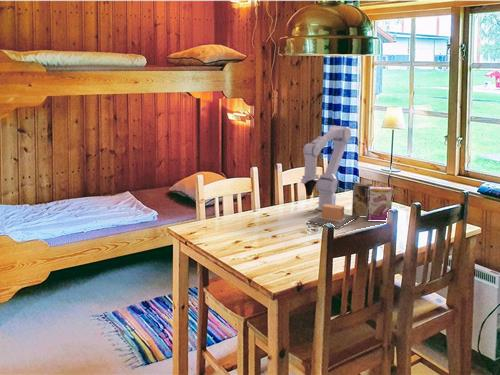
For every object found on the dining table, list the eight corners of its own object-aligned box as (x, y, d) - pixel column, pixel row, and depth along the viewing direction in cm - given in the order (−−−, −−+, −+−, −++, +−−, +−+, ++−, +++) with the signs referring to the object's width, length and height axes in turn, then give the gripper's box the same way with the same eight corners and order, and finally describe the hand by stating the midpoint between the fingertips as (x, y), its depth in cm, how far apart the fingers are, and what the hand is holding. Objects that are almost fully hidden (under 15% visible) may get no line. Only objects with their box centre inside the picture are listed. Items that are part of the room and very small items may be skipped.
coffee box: (371, 214, 284) (373, 183, 280) (370, 218, 278) (371, 186, 274) (353, 213, 287) (354, 182, 283) (351, 216, 281) (352, 185, 277)
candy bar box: (367, 221, 272) (369, 188, 268) (366, 218, 277) (368, 186, 273) (390, 222, 271) (393, 189, 267) (389, 219, 276) (391, 187, 272)
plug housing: (324, 215, 278) (325, 203, 276) (343, 218, 273) (344, 206, 272) (321, 218, 274) (322, 206, 272) (340, 220, 269) (341, 208, 268)
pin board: (327, 213, 286) (327, 204, 285) (356, 218, 277) (357, 209, 276) (308, 223, 270) (308, 213, 269) (338, 229, 261) (339, 219, 260)
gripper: (310, 164, 285) (309, 191, 288) (296, 169, 273) (295, 196, 276) (322, 166, 281) (321, 193, 284) (309, 171, 269) (307, 198, 272)
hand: (309, 195), depth 280 cm, fingers closed
